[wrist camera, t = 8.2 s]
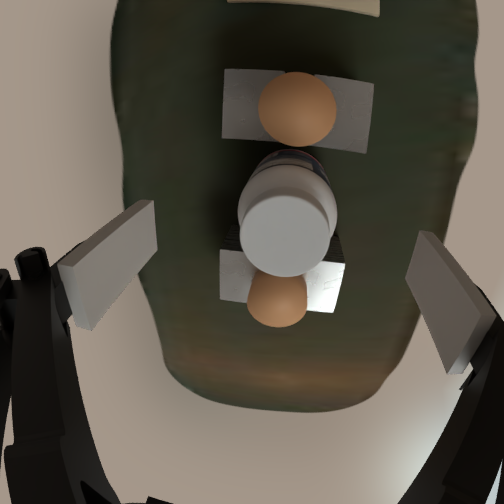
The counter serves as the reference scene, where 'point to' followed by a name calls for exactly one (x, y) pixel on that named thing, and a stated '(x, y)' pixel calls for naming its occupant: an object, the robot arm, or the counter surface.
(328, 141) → the set of grey blocks
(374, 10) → the coaster
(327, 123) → the plunger
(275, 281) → the plunger
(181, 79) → the counter surface
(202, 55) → the counter surface
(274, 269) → the pill bottle
